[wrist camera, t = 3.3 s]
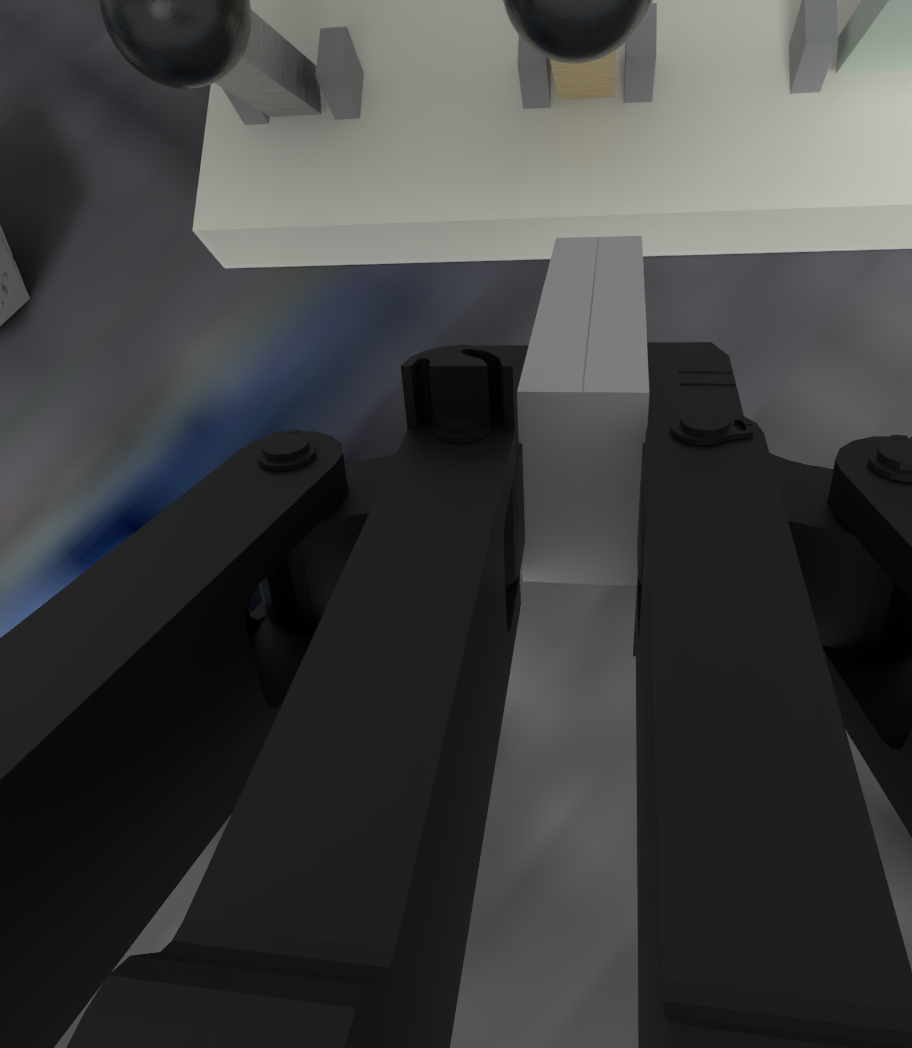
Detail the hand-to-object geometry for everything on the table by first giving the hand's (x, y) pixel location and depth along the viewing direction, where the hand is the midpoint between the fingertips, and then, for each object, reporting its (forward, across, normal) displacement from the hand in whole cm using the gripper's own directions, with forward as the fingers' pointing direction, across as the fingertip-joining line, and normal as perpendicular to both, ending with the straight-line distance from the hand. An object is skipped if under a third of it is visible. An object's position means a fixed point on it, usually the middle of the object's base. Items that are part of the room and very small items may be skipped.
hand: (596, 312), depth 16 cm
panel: (+23, -1, -1) cm, 23 cm away
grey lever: (+20, -12, +2) cm, 23 cm away
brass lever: (+21, -1, +2) cm, 21 cm away
